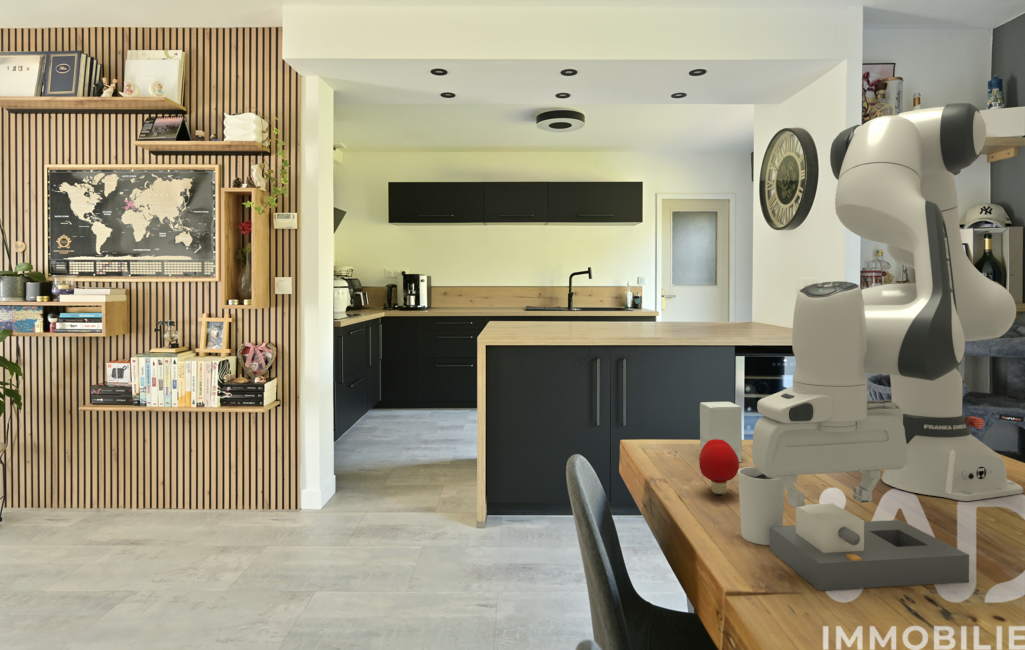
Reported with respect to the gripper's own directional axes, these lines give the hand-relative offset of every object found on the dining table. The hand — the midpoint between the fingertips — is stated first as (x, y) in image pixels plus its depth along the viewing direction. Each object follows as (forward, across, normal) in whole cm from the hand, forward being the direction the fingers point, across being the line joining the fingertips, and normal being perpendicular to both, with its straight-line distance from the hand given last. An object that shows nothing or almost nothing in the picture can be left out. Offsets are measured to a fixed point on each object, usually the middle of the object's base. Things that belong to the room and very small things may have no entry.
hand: (829, 503), depth 79 cm
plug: (+8, 0, 0) cm, 8 cm away
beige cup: (+9, +4, -10) cm, 14 cm away
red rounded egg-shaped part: (+9, +2, -30) cm, 31 cm away
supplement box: (+10, -8, -54) cm, 55 cm away
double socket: (+9, -4, 0) cm, 10 cm away
